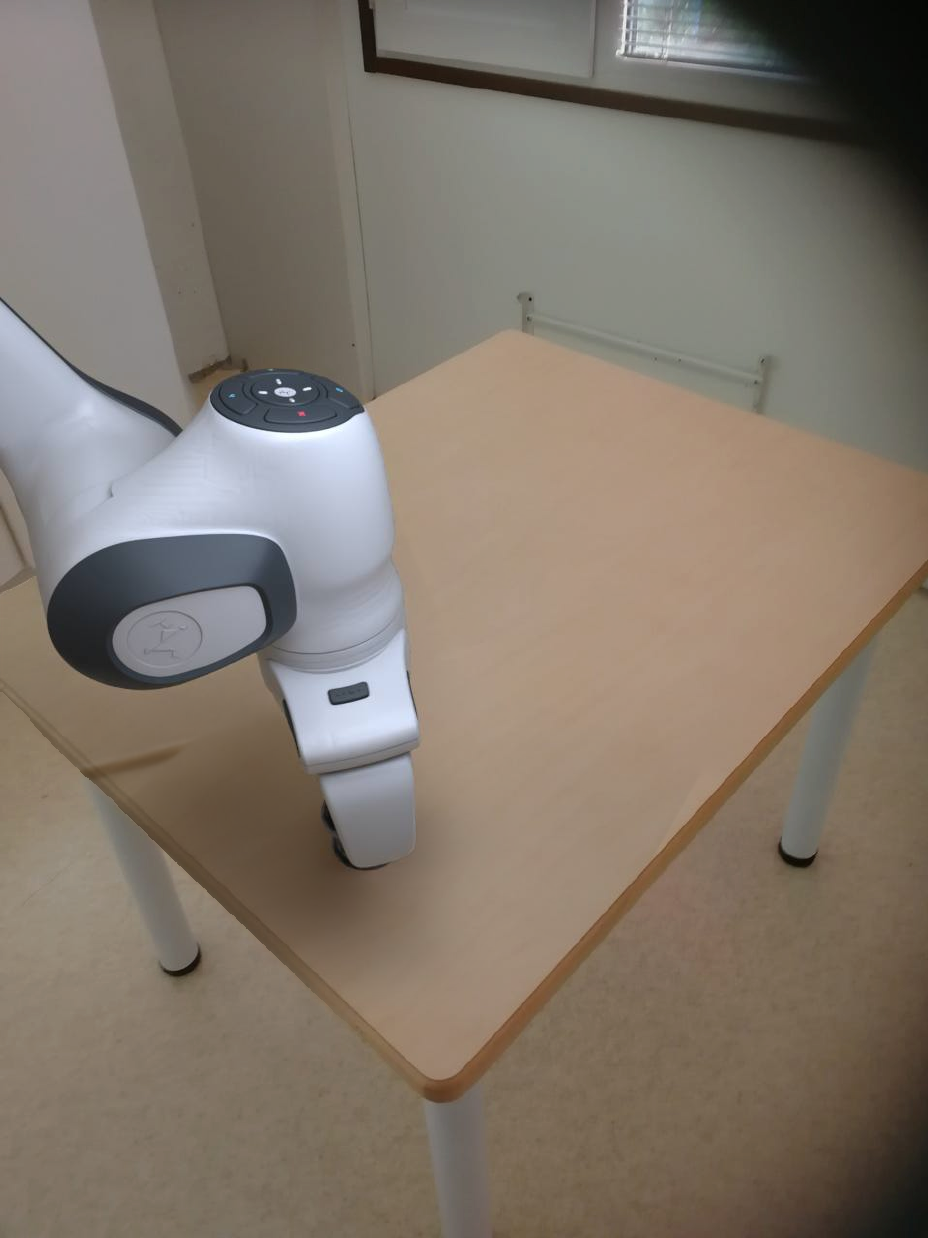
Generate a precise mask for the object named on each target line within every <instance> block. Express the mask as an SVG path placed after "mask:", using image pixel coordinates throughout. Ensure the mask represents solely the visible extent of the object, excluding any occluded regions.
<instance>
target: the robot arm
mask: <svg viewBox="0 0 928 1238" xmlns="http://www.w3.org/2000/svg"><path fill="white" fill-rule="evenodd" d="M372 419H373V418H372V417H371V415H370V413H369V411H368V410H367V409H366V407H365V406H364V404H363V403H362V402H361V401H360V400H359V399H358V398H357V397H356V395H354V394H353V393H351V392H350V391H349V390H348V389H346V388H345V387H344V386H342V385H341V384H339V383H337V382H336V381H334V380H332V379H330V378H328V377H326V376H323V375H318V374H316V373H311V372H307V371H304V370H300V369H294V368H280V367H279V368H276V367H275V368H273V367H272V368H260V369H259V368H258V369H253V370H249V371H245V372H242V373H238V374H235V375H233V376H230V377H227V378H225V379H223V380H221V381H220V382H218V383H217V384H216V385H215V386H214V387H213V388H212V389H211V390H210V392H209V393H208V395H207V397H206V399H205V401H204V403H203V405H202V407H201V408H200V410H199V411H198V413H197V414H196V415H195V416H194V418H192V420H191V421H190V422H189V423H188V425H186V426H185V427H184V429H183V428H182V427H181V426H180V425H179V424H178V423H177V422H176V421H175V420H174V419H173V418H171V417H170V416H169V415H167V414H166V413H165V412H163V411H162V410H161V409H159V408H157V407H156V406H154V405H152V404H149V403H148V402H146V401H144V400H141V399H139V398H137V397H135V396H133V395H131V394H129V393H126V392H124V391H121V390H118V389H117V388H114V387H112V386H110V385H107V384H105V383H103V382H101V381H99V380H97V379H96V378H94V377H92V376H90V375H88V374H87V373H86V372H84V371H82V370H81V369H80V368H78V367H77V366H76V365H74V364H73V363H71V361H69V360H68V359H67V358H65V357H64V356H63V355H62V354H61V353H60V352H59V351H58V350H56V348H55V347H53V345H52V344H50V343H49V341H47V340H46V339H45V338H44V337H43V336H42V335H41V334H40V333H39V332H38V331H37V330H36V329H35V328H34V327H32V325H31V324H30V323H28V322H27V321H26V319H24V318H23V317H22V316H21V315H20V314H19V313H18V312H17V311H16V310H15V309H14V308H13V307H12V306H11V305H10V304H9V303H8V302H7V301H5V299H3V297H1V296H0V470H1V472H2V473H3V475H4V476H5V478H6V480H7V482H8V483H9V486H10V488H11V490H12V492H13V494H14V497H15V500H16V503H17V505H18V508H19V510H20V512H21V515H22V517H23V520H24V523H25V526H26V530H27V534H28V539H29V540H28V541H29V544H30V549H31V553H32V557H33V563H34V570H35V577H36V582H37V587H38V591H39V595H40V599H41V604H42V609H43V613H44V617H45V621H46V627H47V632H48V635H49V639H50V642H51V643H52V645H53V647H54V649H55V651H56V653H58V655H59V656H60V657H61V659H62V660H63V661H64V662H65V663H66V664H67V665H68V666H69V667H71V668H72V669H73V670H74V671H76V672H77V673H79V674H81V675H83V676H84V677H85V678H88V679H89V680H93V681H95V682H97V683H100V684H102V685H105V686H109V687H112V688H118V689H123V690H130V691H153V690H155V691H156V690H162V689H168V688H172V687H176V686H180V685H183V684H187V683H189V682H192V681H194V680H197V679H200V678H203V677H205V676H207V675H209V674H212V673H215V672H218V671H219V670H221V669H223V668H226V667H228V666H230V665H232V664H235V663H237V662H239V661H241V660H243V659H245V658H247V657H249V656H251V655H254V654H256V657H257V661H258V665H259V667H260V673H261V676H262V679H263V682H264V684H265V686H266V688H267V689H268V690H269V692H270V693H271V694H272V696H273V699H274V700H275V702H276V704H277V706H278V707H279V709H280V710H281V713H282V714H283V715H284V716H285V719H286V722H287V724H288V728H289V730H290V733H291V734H292V738H293V740H294V745H295V748H296V752H297V757H298V758H299V759H300V762H301V765H302V770H303V771H304V773H305V774H306V775H309V776H313V775H315V776H316V780H317V782H318V785H319V788H320V791H321V794H322V796H323V800H324V799H325V802H326V804H327V807H328V810H329V812H330V815H331V817H332V820H333V823H334V825H335V828H336V830H337V833H338V835H339V838H340V840H341V843H342V845H343V848H344V850H345V853H346V855H347V857H348V859H349V860H350V862H351V863H352V864H353V865H354V866H356V867H372V866H376V865H381V864H385V863H388V862H390V863H392V862H395V861H398V860H399V859H400V860H401V859H402V858H405V857H407V856H408V855H410V854H411V853H412V852H413V851H414V849H415V846H416V841H417V840H416V839H417V832H416V831H417V830H416V829H417V828H416V827H417V826H416V825H417V824H416V823H417V822H416V794H415V792H416V791H415V775H414V769H413V768H414V765H413V758H412V751H413V750H417V749H418V748H419V747H420V746H421V743H422V742H421V741H422V738H421V730H420V724H419V717H418V712H417V706H416V703H415V699H414V695H413V691H412V686H411V667H412V661H411V659H412V658H411V653H412V652H411V644H410V635H409V628H408V619H407V610H406V609H407V608H406V602H405V601H406V600H405V595H404V594H405V593H404V586H403V582H402V578H401V576H400V573H399V571H398V569H397V567H396V565H395V563H394V560H393V550H394V546H395V542H396V533H397V531H396V521H395V513H394V507H393V499H392V493H391V488H390V482H389V476H388V473H387V468H386V463H385V462H386V461H385V458H384V453H383V450H382V446H381V442H380V438H379V436H378V432H377V429H376V427H375V425H374V422H373V420H372ZM391 861H392V862H391ZM388 864H389V863H388Z"/></svg>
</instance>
